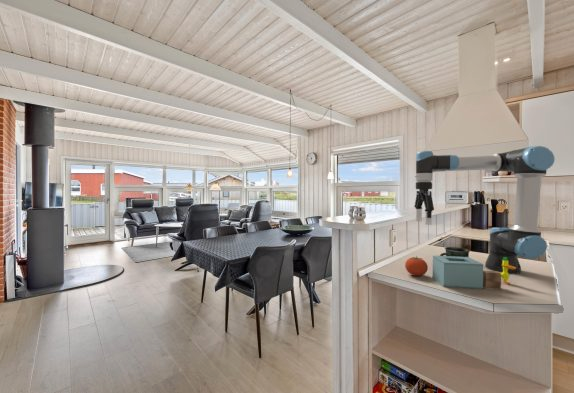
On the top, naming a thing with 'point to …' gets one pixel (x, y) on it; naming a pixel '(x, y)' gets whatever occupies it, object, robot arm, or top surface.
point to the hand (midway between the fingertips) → (423, 222)
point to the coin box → (458, 272)
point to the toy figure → (505, 268)
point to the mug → (456, 252)
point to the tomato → (416, 266)
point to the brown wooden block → (492, 279)
